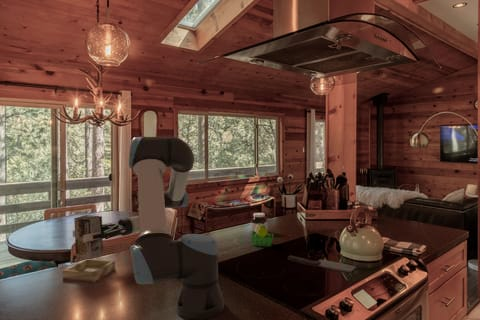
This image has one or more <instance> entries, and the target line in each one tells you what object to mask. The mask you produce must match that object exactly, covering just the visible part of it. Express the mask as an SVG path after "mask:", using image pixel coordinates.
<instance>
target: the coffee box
mask: <svg viewBox="0 0 480 320" xmlns="http://www.w3.org/2000/svg"><path fill="white" fill-rule="evenodd" d="M73 220H74V221H73V222H74V230H75V237H74V239H75V240H74V242H75V257H77V258H82V259H83V258H84V259H96V258H98V257H100V256H102V255H104V249H103V248H104V247H103V245H104V243H103V239H97V240H92V241H87V242H83V235H86V234H91V233H96V232H100V233H101V230H102V224H103V216H101V215H90V214H89V215H88V214H85V215H81V216H77V217H74V218H73Z"/></svg>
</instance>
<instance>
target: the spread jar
mask: <svg viewBox="0 0 480 320" xmlns="http://www.w3.org/2000/svg"><path fill="white" fill-rule="evenodd" d="M252 215H253V217H252V218H251V220H250V231H251V233H252V234H253V233H257V230H258V228H259V226H261V225H264V226H265V228H266V229H267V230H268V229H269V228H268V227H269V226H268V225H269V224H268V222H269V221H268V219H267V218H266V216H265V213H264V212H254V213H253V214H252Z"/></svg>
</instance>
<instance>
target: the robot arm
mask: <svg viewBox="0 0 480 320" xmlns="http://www.w3.org/2000/svg"><path fill="white" fill-rule="evenodd" d="M128 154H129V155H128V156H129V157H128V166H129V168H130V169H132V170H133V173H134V174H135V175H136V176H137V189H138V190H137V193H138V195H137V196H138V215H136V216H130V217H129V216H128V217H124V218H120V219H119V220H118V222H117V224H116V223H114V222H113V223H112V222H109V223H104V224H103V223H102V230H101V233H100V232H96V233H91V234H86V235H83V242H87V241H92V240H97V239H102V240H103V239H104V240H108V239H112V238H116V237H118V236H122V237H123V236H124V237H125V236H129V235H137V233H139V235H138V236H137V237H136V238H135V240H134V245H130V257H131V265H132V271H133V276H134V280H135V282H136V283H137V284H138V285H153V284H156V283H164V282H172V281H180V280H181V287H180V290H179V294H178V296H177V300H176V312H177V314H178V316H180V317H182V318H184V319H188V320H206V319H211V318H213V317H216V316H218V315H219V314H221V313H222V312H223V311H224V308H225V300H224V296H223V293H222V291H221V287H220V285H219V250H218V241H217V240H216V239H215V238H214V237H212V236H209V235H207V234H206V235H205V234H199V233H187V234H183V235H181V236H180V238H179V241H174V240H173V235H172V234H170V233H169V232H168V227H167V215H166V214H167V213H166V209H171V208H173V209H174V208H180V209H181V208H184V207H185V208H186V207H187V205H188V204H189V203H188V200H189V199H188V197H189V196H188V192H187V191H186V188H187V183H188V181H189V180H188V179H189V175H190V171H191V170H192V169H193V167H194V165H195V156H194V152H193V150H192V148H191V147H190V145H189V144H188V142H186V141H184V140H183V139H181V138H180V137H176V136H145V135H144V136H137V137H133V138H132V139H131V141H130V146H129V153H128ZM167 168H171V170H170V177H169V184H168V191H166V192H165V191H164V190H165V189H164V179H163V174H164V173H165V172H166V170H167ZM72 237H73V238H75V229H73V230H72Z"/></svg>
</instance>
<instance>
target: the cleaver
mask: <svg viewBox="0 0 480 320" xmlns="http://www.w3.org/2000/svg"><path fill="white" fill-rule="evenodd" d="M287 260H289V261H290V262H293V263H298V264H301V265H306V266H310V267H316V268H324V269H328V270H334V271H339V272H343V273H352V272H353V271H354V270H355V269H357V267H358V266H354V265H350V264H346V263H343V262H342V263H340V262H337V261H331V260H326V259H325V260H324V259H318V260H311V259H307V258H305V257H299V256H295V255H292V254H291V255H289V256H287Z"/></svg>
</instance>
